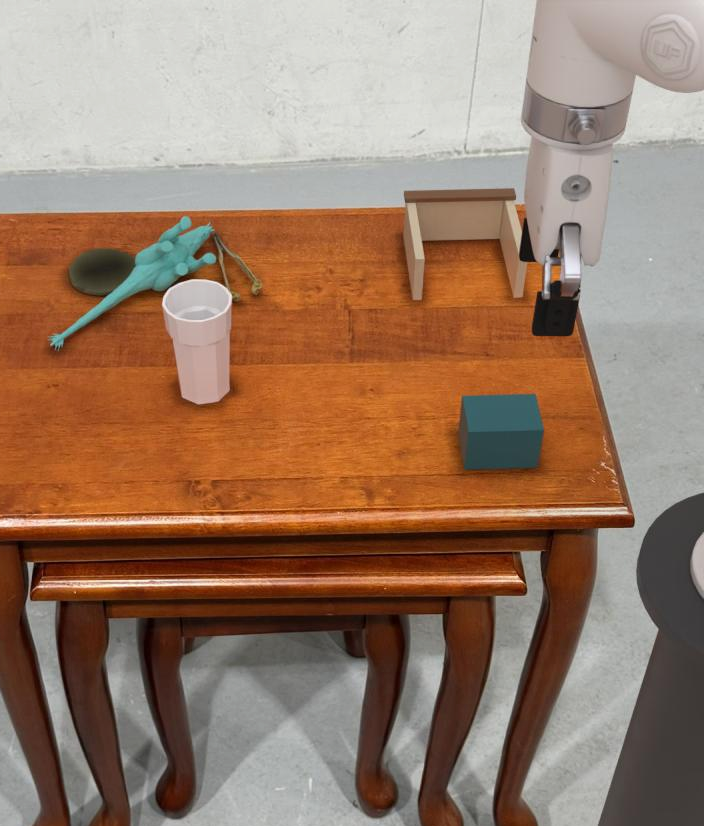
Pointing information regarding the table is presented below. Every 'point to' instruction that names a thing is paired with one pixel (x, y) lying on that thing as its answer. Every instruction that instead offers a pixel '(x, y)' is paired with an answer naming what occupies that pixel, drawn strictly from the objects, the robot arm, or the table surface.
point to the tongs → (221, 246)
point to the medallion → (100, 271)
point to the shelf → (462, 227)
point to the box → (500, 431)
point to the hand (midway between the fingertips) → (544, 295)
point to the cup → (200, 337)
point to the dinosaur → (154, 269)
